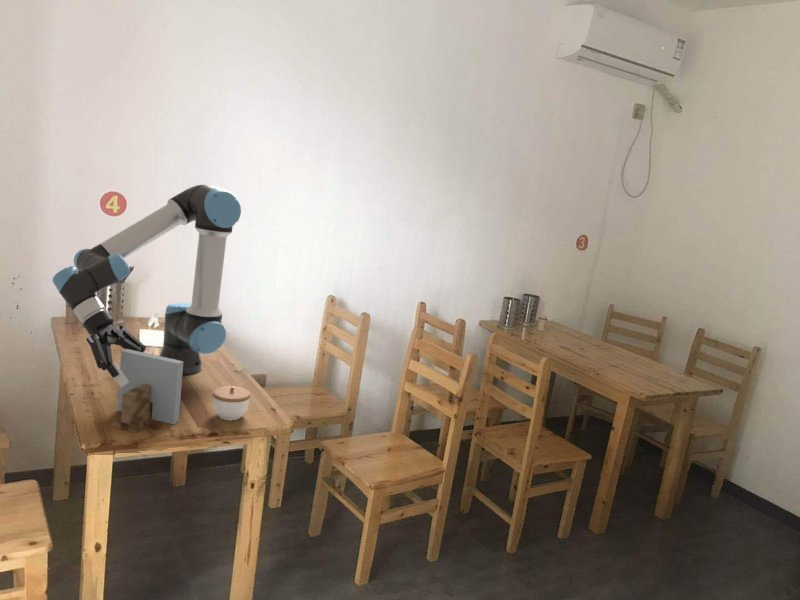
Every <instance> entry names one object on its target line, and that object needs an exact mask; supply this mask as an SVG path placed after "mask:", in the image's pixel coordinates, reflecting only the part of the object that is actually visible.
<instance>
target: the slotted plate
mask: <svg viewBox="0 0 800 600" xmlns="http://www.w3.org/2000/svg"><path fill="white" fill-rule="evenodd" d="M119 363H120V366H119V368H120V370H121V371H122V372H123V374H124V375H125V377H126V378H127V379H128V381H129V383H128V384H127V385H125V386H124V387H123V388H121V387H120V386H119V385H118V395H117V396H118V400H117V411H118V412H122V396H123V394H124V393H126V392H128V391H130V390H132V389H134V388H136V387H138V386H140V385H143V384H144V385H148V386H151V387H150V402H153V407H152V418H151V420H154V421H158V422H162V423H167V424H171V425H175V424H177V423H178V421H179V419H180V408H181V407H180V400H181V396H182V385H183V375H182V373H183V361H179V360H175V359H170V358H166V357H161V356H159V355H156V354H151V353H146V352H139V351H134V350H130V349H122V350H121V351H120V362H119Z"/></svg>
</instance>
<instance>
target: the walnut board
mask: <svg viewBox="0 0 800 600" xmlns="http://www.w3.org/2000/svg"><path fill="white" fill-rule="evenodd" d="M150 387H151V386H148V385H144V384H143V385H140V386H138V387H136V388H134V389H132V390H130V391H128V392H126V393H124V394H123V396H122V412H121V413H120V414H121V416H118V417H117V418H114V419H113V420H112V421H113V423H112V427H113V428H116V429H120V430H125V431H127V432H128V431H129V432H130V433H131V432H133V433H137V432H139V431H141V430H143V429H144V423H145V422H146V421H148V420H150V419H152V407H153V402H150ZM181 407H182V400H181V399H180V408H181Z"/></svg>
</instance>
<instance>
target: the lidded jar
mask: <svg viewBox="0 0 800 600" xmlns="http://www.w3.org/2000/svg"><path fill="white" fill-rule="evenodd" d="M250 397H251V392H250V390H248V389H247V388H244V387H241V386H235V385H225V386H219V387H216V388H215V389H214V390H213V392H212V407H213V410H214V412H215V413H216V415H217V416H218V417H219V419H221V420H223V419H224V421H227V420H228V421H229V422H231V421H232V420H234V421H238V420H239V419H241V417H242V416H243V415H244V414H245V413H246V412H247V410H248V408H249V404H250V399H251V398H250ZM237 419H238V420H237Z"/></svg>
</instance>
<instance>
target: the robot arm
mask: <svg viewBox="0 0 800 600" xmlns="http://www.w3.org/2000/svg"><path fill="white" fill-rule="evenodd" d="M241 214H242V206H241V203H240V201H239V198H238V197H237V196H236V195H235V194H234V193H233V192H231V191H228V190H227V189H225V188H221V187H217V186H216V187H215V186H212V185H208V184H196V185H193V186H191V187H189V188H187V189H184V190H183V191H181V192H180V193H178V194H176V195H173V197H171V198H169V199H168V200H167V203H166V204H165V205H164V206H161V207H159V208H158V209H157V210H155V211H154V212H151V213H150V214H148V215H147V216H145V217H144V218H142V219H140V220H138V221H136V222H135V223H133V224H131V225H130V226H128V227H126V228H125V229H123V230H122V231H120V232H118V233H116V234H114V235H113V236H111V237H109V238H107V239H106V240H104V241H102V242H101V243H99V244H98V245H95V246H94V247H92V248H83V249H80V250H79V251H77V252H76V254H75V255H74V257H73V265H71V266H68V267H65V268H63V269H61V270H59V271H57V273H55V274H54V276H53V277H52V283H53V284H54V286H55V287H56V289H57V291H58V292H59V295H61V297H62V298H63V300H64V301H65V302H66V303H67V305H68V306H69V308H70V309H71V310H72V312H73V313H74V315H75V316H76V317H77V319H78V321H79V322H80V323H82V326H83V328H84V329H85V330H86V332H87V333H88V334H89V336H88V337H86V339H85V340H86V342H87V343H88V344H89V346H90V349H91V352H92V355H93V358H94V361H95V363H96V367H97V368H98V369H99V370H100V369H101V370H102V371H106V370H107V372H108V373H109V374H110V376H111V377H112V378H114V380H115V382H116V383H117V385H118V387H119V386H120V387H121V388H123V387H124V386H125V385H127V384H128V383H129V381H128V379H127V378H126V377H125V375H124V374H123V372H122V371H121V370H120V366H119V365H118V364H117V363H116V362H115V363H114V360H113V354H112V347H111V346H112V345H116V346H119V347H121V348H123V350H125V349H130V350H134V351H139V352H143V353H145V351H146V349H147V347H146V345H145V344H143V343H142V342H141V341H140V340H139V339H137V337H135V336H134V334H132V333H131V332H130V331H129V330H128V329H127V328H126V327H125V325H124V324H120V325H119V326H118V327H117V326H116V325H114V318H113V316H112V315H111V313H110V312H109V311H108V310H106V307H105V305H104V304H103V302H102V301H101V299H100V298H99V297H98V295H97V294H96V293H98V292H101V291H102V290H104V289H106V288H108V287H110V286H112V285H114V284H116V283H117V282H121V281H122V280H123V279H125V278H127V277H129V275H130V273H131V270H130V266H129V265H128V262H127V261H126V258H127V257H129V256H130V255H132V254H134V253H136V252H137V251H139V250H141V249H142V248H143V247H146V246H147V245H148V244H150V243H152V242H154V241H155V240H157V239H158V238H160V237H161V236H164V235H165V234H167V233H169V232H171V230H174V229H175V228H177V227H178V226H180V225H183V226H186V225H187V224H189V223H192V222H194V221H195V222H194V224H195V225H194V228H195V230H196V231H197V232H198V241H197V252H196V259H195V260H196V261H195V269H194V278H193V287H192V298H191V303H187V302H184V303H183V302H180V303H179V302H178V303H170V304H168V305H167V306H166V308H165V313H164V329H163V345H162V348H161V350H160V352H159V354H158V356H161V357H166V358H170V359H175V360H179V361H183V373H182V376H183V375H193V374H197V373H199V372H201V370H202V368H203V366H202V365H203V361H202V357H201V354H203V355H210V354H212V353H215V352H217V351H218V350H219V349H220V348H222V346H223V345H224V343H225V342H226V338H227V329H226V327H225V326H224V325H223V324H222V320H223V312H222V310H221V309H220V307H219V305H220V304H219V303H220V297H221V289H222V288H221V286H222V279H223V278H222V277H223V269H224V260H225V253H226V245H227V237H228V236H229V235H231V234H233V233H232V232H233V227H234V226H235V225H236V223H238V222H239V220H240V218H241Z"/></svg>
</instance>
